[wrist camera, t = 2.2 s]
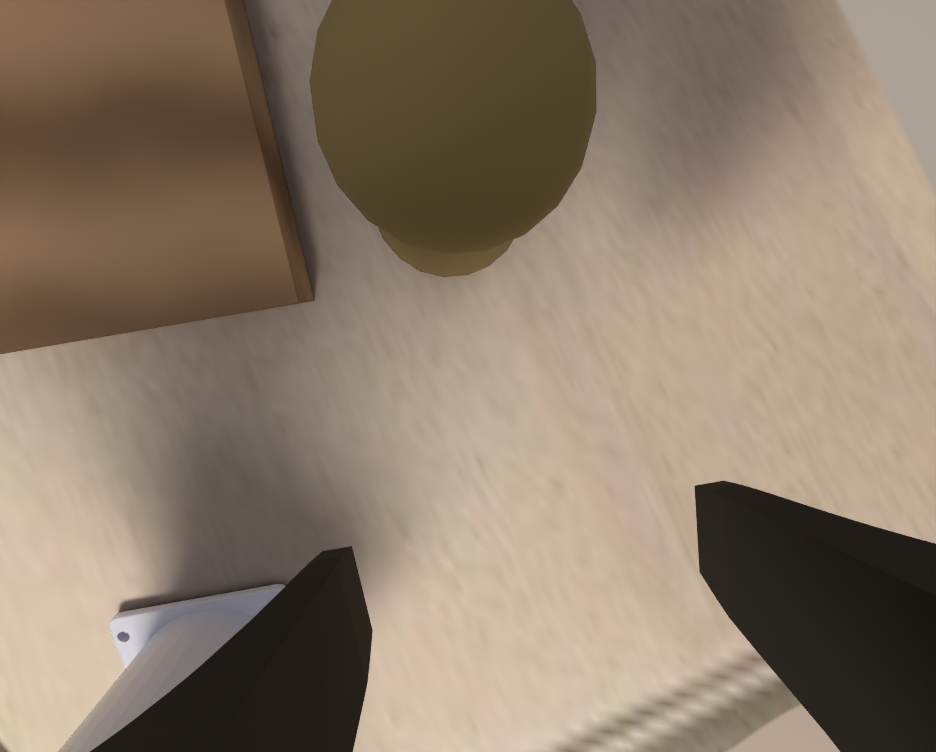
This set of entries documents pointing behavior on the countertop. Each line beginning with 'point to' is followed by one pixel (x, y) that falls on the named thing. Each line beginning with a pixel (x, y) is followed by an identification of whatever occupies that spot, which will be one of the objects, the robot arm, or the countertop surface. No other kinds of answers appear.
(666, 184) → the countertop surface
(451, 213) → the olive tapered knobbed peg
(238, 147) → the walnut base
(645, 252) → the countertop surface
